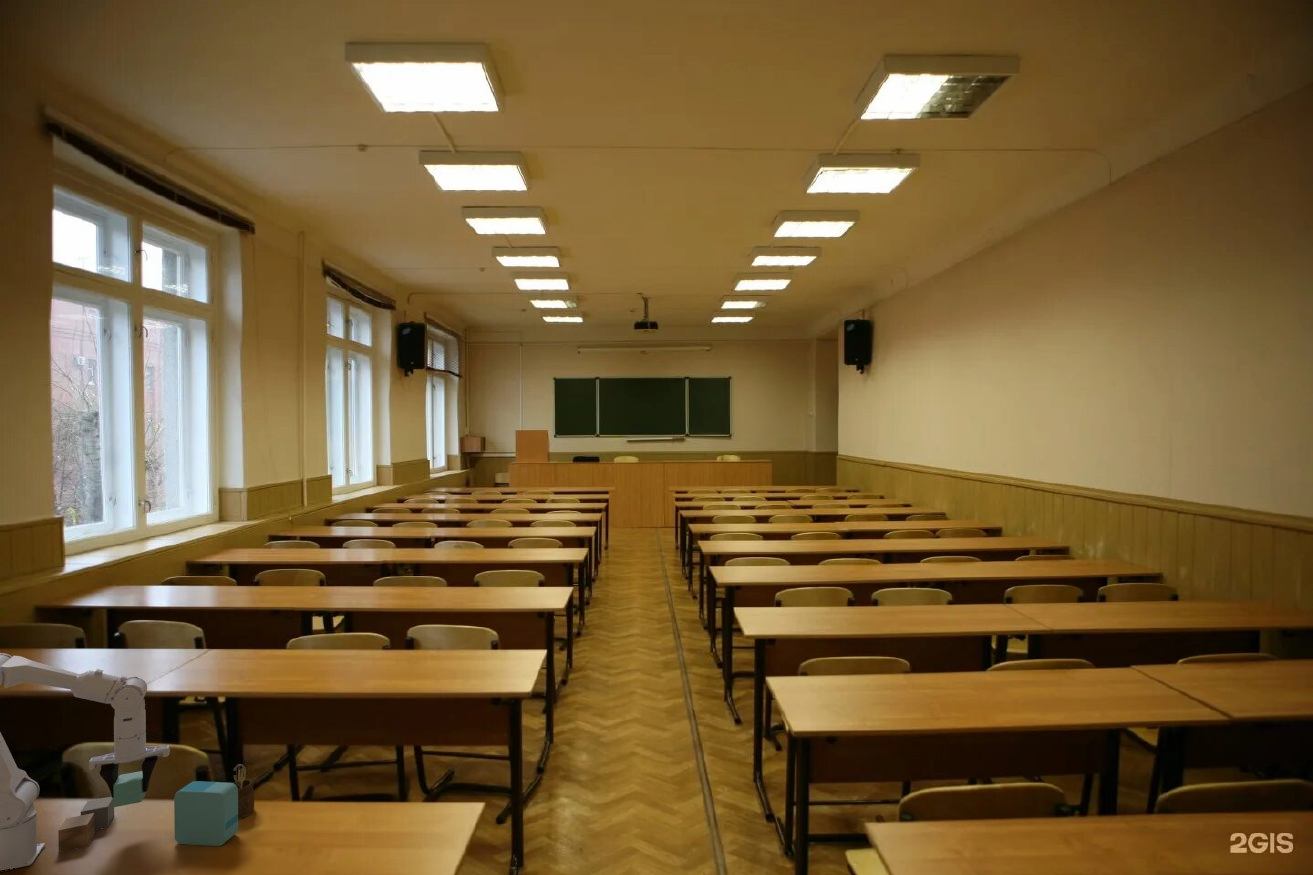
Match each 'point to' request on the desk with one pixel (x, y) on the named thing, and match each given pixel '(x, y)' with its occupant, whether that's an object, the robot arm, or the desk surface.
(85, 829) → the walnut block
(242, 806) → the utensil holder
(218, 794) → the data package
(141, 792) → the teal block
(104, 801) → the charcoal block
